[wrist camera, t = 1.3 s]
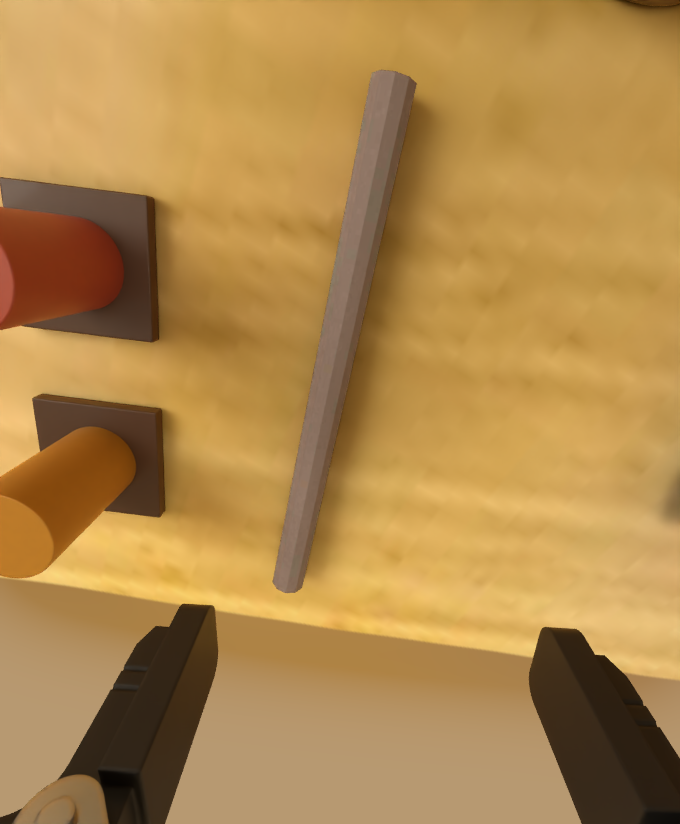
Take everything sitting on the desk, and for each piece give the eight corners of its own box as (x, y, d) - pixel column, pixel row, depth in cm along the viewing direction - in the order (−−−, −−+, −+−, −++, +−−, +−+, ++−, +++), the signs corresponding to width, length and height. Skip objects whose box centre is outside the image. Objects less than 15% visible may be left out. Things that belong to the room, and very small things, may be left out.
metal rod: (276, 567, 28) (270, 589, 26) (370, 84, 19) (372, 65, 17) (304, 573, 28) (300, 595, 26) (412, 94, 19) (418, 76, 17)
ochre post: (41, 393, 24) (-99, 455, 17) (161, 408, 24) (75, 477, 17) (56, 497, 27) (-61, 591, 19) (165, 510, 27) (91, 609, 19)
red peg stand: (11, 179, 21) (-188, 137, 13) (154, 197, 21) (38, 165, 13) (31, 324, 23) (-126, 358, 16) (159, 339, 23) (63, 382, 16)
